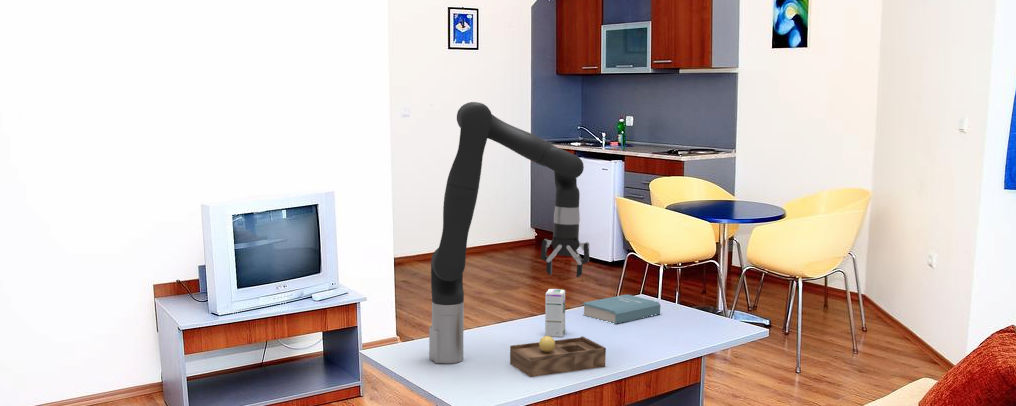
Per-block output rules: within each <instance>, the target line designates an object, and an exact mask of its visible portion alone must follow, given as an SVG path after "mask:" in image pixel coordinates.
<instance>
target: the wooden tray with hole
mask: <svg viewBox="0 0 1016 406" xmlns="http://www.w3.org/2000/svg"><path fill="white" fill-rule="evenodd" d="M554 341H555V348H554V349H553V350H552V351H550V352H544V351H542V350H541V349H540V346H539V342H531V343H530V342H529V343H522V344H513V345H509V346H510V348H509V349H510V350H509V351H510V352H509V354H510V355H509V358H510V359H509V364H510V365H511V366H513V367H514V368H515V369H516V370H519V371H520V372H522V373H523V374H525V375H527V376H528V377H530V378H533V377H534V378H535V377H541V376H548V375H555V374H556V375H557V374H562V373H563V374H564V373H571V372H577V371H584V370H592V369H600V368H606V359H607V358H606V356H607V355H606V354H607V352H606V351H607V350H606V349H607V348H606V347H605V346H603V345H601V344H599V343H597V342H595V341H592V340H591V339H589V338H587V337H585V336H582V335H581V336H580V337H573V338H565V339H554Z"/></svg>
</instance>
